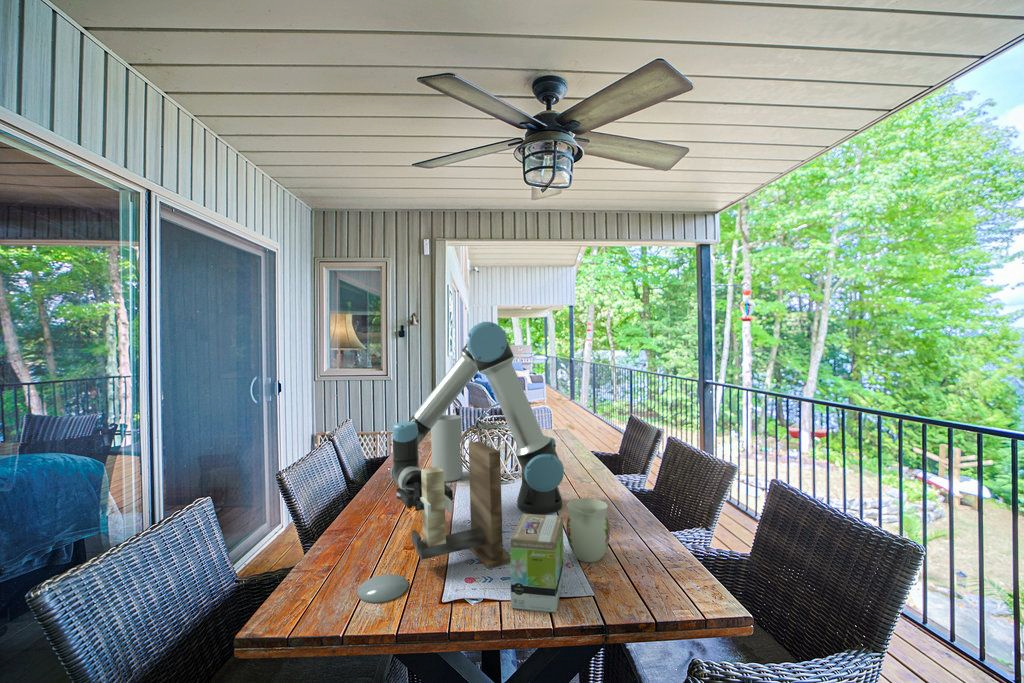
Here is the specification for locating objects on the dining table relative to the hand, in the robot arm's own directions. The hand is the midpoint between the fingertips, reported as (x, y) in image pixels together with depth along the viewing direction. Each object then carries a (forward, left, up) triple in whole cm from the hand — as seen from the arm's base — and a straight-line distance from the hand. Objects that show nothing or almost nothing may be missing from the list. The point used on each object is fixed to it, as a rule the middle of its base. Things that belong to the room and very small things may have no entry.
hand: (439, 508), depth 110 cm
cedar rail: (+1, -5, -10) cm, 11 cm away
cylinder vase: (-7, -80, -16) cm, 82 cm away
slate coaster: (+13, +3, -16) cm, 21 cm away
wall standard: (-5, -7, -16) cm, 18 cm away
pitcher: (-38, -1, -16) cm, 41 cm away
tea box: (-21, +13, -16) cm, 29 cm away
